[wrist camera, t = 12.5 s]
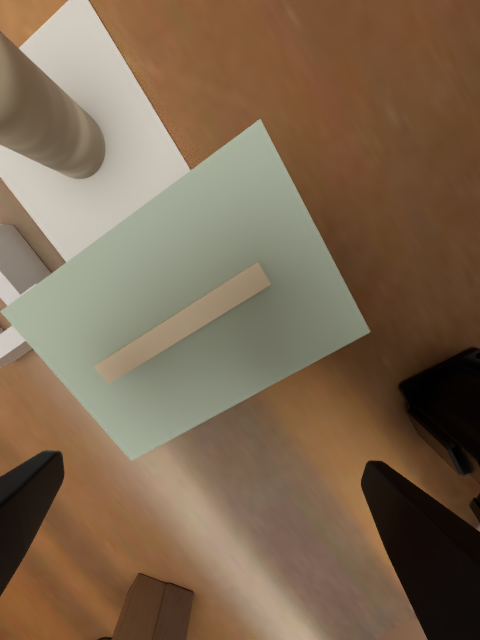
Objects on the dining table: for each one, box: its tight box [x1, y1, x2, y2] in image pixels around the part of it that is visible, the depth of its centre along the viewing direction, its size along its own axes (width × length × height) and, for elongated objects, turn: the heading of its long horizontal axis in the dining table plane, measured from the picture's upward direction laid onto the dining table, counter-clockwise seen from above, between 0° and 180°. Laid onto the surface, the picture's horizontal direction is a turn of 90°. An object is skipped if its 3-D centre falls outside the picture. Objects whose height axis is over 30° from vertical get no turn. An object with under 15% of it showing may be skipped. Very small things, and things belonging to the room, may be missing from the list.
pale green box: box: [0, 119, 370, 461], centre depth 15 cm, size 24×18×6 cm
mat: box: [0, 0, 191, 262], centre depth 15 cm, size 11×11×1 cm
